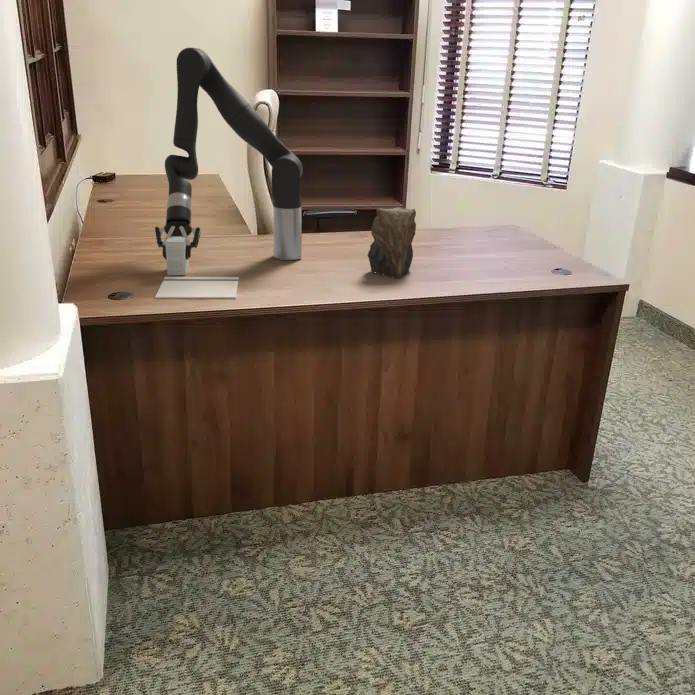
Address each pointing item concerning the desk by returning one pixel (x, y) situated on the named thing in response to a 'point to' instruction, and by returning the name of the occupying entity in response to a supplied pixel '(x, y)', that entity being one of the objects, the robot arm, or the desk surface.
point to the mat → (198, 288)
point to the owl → (392, 241)
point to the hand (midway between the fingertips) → (176, 258)
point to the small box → (176, 255)
